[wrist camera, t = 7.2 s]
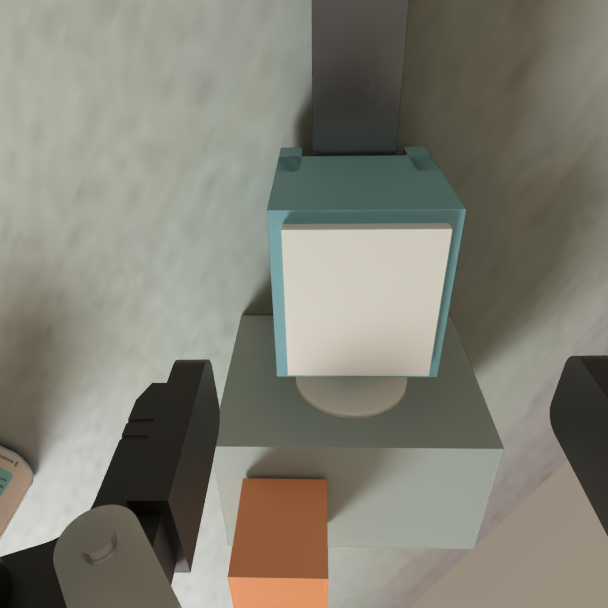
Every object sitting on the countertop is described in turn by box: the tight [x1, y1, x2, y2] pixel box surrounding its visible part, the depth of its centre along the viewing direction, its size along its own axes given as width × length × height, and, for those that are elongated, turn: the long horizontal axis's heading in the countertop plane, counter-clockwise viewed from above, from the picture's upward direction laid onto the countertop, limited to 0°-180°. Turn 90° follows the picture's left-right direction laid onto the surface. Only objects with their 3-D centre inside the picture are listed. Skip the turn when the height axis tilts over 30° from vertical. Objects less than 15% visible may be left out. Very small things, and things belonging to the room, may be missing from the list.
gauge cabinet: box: [213, 315, 504, 549], centre depth 22 cm, size 6×11×8 cm, turn 91°
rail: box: [312, 0, 409, 156], centre depth 18 cm, size 16×3×2 cm, turn 1°
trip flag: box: [228, 478, 328, 608], centre depth 17 cm, size 3×3×4 cm
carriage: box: [267, 147, 466, 377], centre depth 17 cm, size 6×5×6 cm
